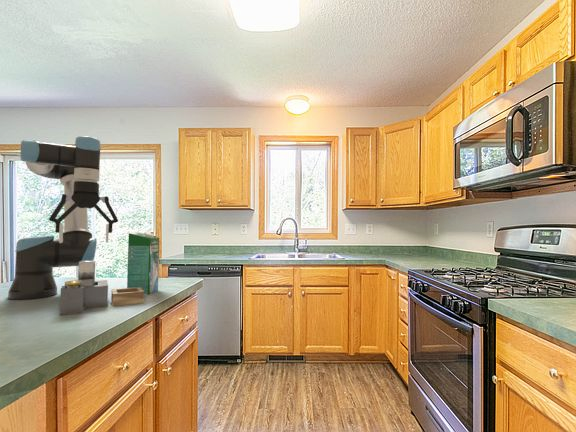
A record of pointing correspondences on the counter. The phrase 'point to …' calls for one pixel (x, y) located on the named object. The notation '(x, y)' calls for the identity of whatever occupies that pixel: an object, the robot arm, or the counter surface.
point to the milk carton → (143, 262)
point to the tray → (127, 296)
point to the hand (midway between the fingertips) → (84, 242)
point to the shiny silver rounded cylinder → (86, 273)
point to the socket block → (83, 297)
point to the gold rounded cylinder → (72, 284)
